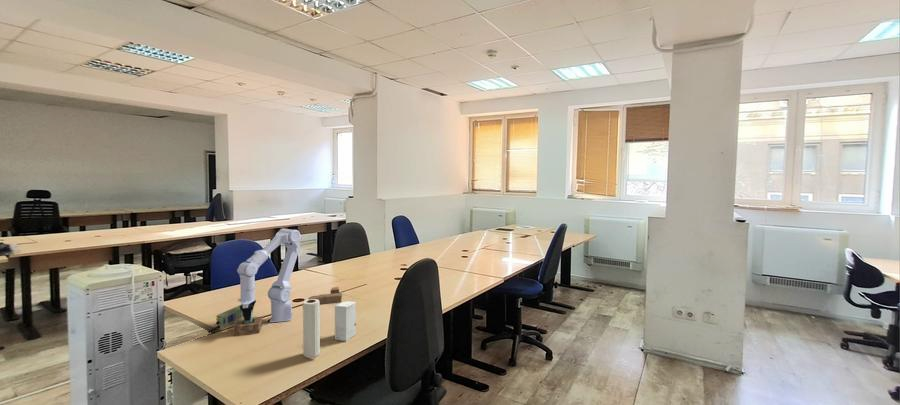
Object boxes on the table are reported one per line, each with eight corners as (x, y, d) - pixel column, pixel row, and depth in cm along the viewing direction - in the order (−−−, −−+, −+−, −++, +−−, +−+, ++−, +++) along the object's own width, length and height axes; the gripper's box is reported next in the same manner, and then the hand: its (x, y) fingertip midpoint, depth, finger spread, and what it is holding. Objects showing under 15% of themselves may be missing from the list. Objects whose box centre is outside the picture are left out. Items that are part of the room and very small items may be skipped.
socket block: (262, 324, 182) (262, 316, 181) (259, 333, 172) (259, 324, 172) (238, 327, 178) (237, 318, 178) (233, 335, 169) (233, 326, 169)
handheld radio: (251, 315, 195) (212, 334, 170) (245, 315, 195) (206, 334, 171) (250, 302, 194) (211, 319, 170) (244, 302, 195) (205, 319, 170)
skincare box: (346, 341, 164) (346, 307, 164) (333, 339, 166) (333, 305, 165) (356, 334, 172) (356, 301, 172) (344, 332, 174) (344, 299, 173)
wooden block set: (343, 293, 216) (308, 296, 209) (343, 303, 216) (308, 306, 210) (340, 285, 232) (308, 287, 225) (340, 294, 232) (308, 297, 226)
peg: (253, 324, 177) (252, 304, 177) (251, 326, 174) (251, 307, 174) (244, 324, 176) (244, 305, 176) (243, 327, 173) (243, 307, 172)
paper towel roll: (307, 350, 155) (306, 298, 154) (322, 351, 155) (321, 298, 154) (299, 359, 148) (299, 304, 147) (315, 359, 148) (314, 304, 147)
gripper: (240, 285, 180) (241, 314, 181) (234, 294, 166) (235, 325, 167) (257, 284, 182) (258, 312, 183) (252, 293, 168) (253, 323, 169)
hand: (248, 318), depth 175 cm, fingers closed on peg, 3 cm apart
